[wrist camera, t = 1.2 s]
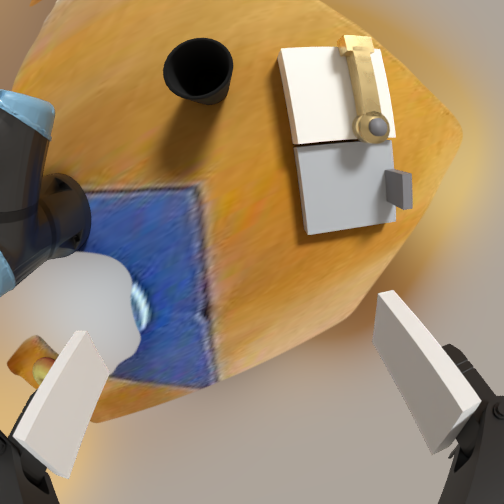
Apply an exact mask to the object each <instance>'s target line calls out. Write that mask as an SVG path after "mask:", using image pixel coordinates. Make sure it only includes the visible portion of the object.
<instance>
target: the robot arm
mask: <svg viewBox="0 0 504 504" xmlns="http://www.w3.org/2000/svg"><path fill="white" fill-rule="evenodd" d="M54 118H55V109H54V107H53V106H52V104H51V103H49V102H47V101H44V100H41V99H38V98H35V97H31V96H28V95H24V94H20V93H16V92H12V91H6V90H2V89H0V297H1V296H2V295H4V294H5V293H7V292H8V291H10V290H13V289H14V288H15V286H17V285H18V284H19V283H20V282H21V281H22V280H23V279H25V278H26V277H27V276H28V275H29V274H31V273H32V272H33V271H34V270H35V269H37V268H38V267H39V266H40V265H41V264H43V263H44V262H45V261H47V260H49V259H55V258H61V257H66V256H69V255H70V254H73V253H74V252H75V251H77V250H78V249H79V248H80V247H81V246H82V245H83V244H84V243H85V241H86V239H87V237H88V235H89V231H90V226H91V212H90V207H89V203H88V200H87V197H86V195H85V193H84V191H83V190H82V188H81V187H80V185H79V184H78V183H77V182H76V181H75V180H74V179H72V178H71V177H69V176H67V175H65V174H60V173H55V174H50V175H47V176H44V177H43V171H44V166H45V161H46V156H47V151H48V147H49V142H50V141H51V139H52V138H51V132H52V127H53V123H54ZM372 342H373V344H374V346H375V348H376V350H377V351H378V353H379V355H380V357H381V358H382V360H383V362H384V364H385V365H386V367H387V369H388V371H389V373H390V375H391V376H392V378H393V380H394V382H395V384H396V385H397V387H398V389H399V391H400V393H401V395H402V397H403V399H404V400H405V402H406V404H407V406H408V408H409V410H410V412H411V414H412V416H413V418H414V419H415V422H416V423H417V426H418V428H419V430H420V432H421V434H422V436H423V438H424V440H425V442H426V444H427V446H428V448H429V450H430V452H431V454H432V455H433V454H435V453H437V452H439V451H442V450H443V449H445V448H447V447H449V446H450V445H451V444H452V442H453V441H454V440H455V439H456V440H457V441H458V443H459V444H458V445H457V446H456V448H455V449H454V450H453V451H452V452H451V454H450V456H449V457H448V458H452V457H453V455H454V454H455V455H454V459H453V462H452V465H451V468H450V472H449V475H448V478H447V481H446V484H445V487H444V489H443V492H442V494H441V497H440V500H439V502H438V504H504V396H496V395H495V394H494V393H493V391H492V390H491V389H490V387H489V386H488V385H487V384H486V382H485V381H484V379H483V378H482V377H481V375H480V374H479V373H478V372H477V370H476V369H475V368H473V365H472V364H471V363H470V362H469V361H468V360H467V358H466V357H465V355H464V354H463V353H462V352H461V351H460V350H459V349H457V348H456V347H454V346H453V345H451V344H448V345H445V346H443V347H441V346H440V345H439V343H438V342H437V341H436V340H435V338H434V337H433V336H432V335H431V334H430V332H429V331H428V330H427V329H426V327H425V326H424V325H423V324H422V323H421V321H420V320H419V319H418V318H417V317H416V316H415V314H414V313H413V312H412V311H411V310H410V309H409V307H408V306H407V305H406V304H405V303H404V302H403V301H402V299H401V298H400V297H399V296H398V295H397V294H396V293H395V292H394V290H391V291H387V292H382V293H378V300H377V309H376V318H375V325H374V334H373V340H372ZM109 373H110V372H109V370H108V368H107V367H106V365H105V363H104V361H103V360H102V358H101V356H100V354H99V353H98V351H97V349H96V347H95V345H94V343H93V341H92V339H91V337H90V335H89V333H88V332H87V331H75V332H74V334H73V335H72V337H71V338H70V340H69V341H68V343H67V344H66V346H65V347H64V349H63V350H62V352H61V354H60V355H59V356H58V358H57V359H56V361H55V362H54V364H53V366H52V367H51V369H50V370H49V372H48V374H47V375H46V377H45V378H44V380H43V382H42V383H41V385H40V387H39V388H38V389H37V390H36V391H35V392H34V393H33V394H32V395H31V396H30V398H29V400H28V401H27V403H26V406H25V407H24V408H23V410H22V413H21V414H20V416H19V417H18V419H17V421H16V423H15V425H14V427H13V429H12V431H11V433H10V435H9V436H8V438H7V437H6V436H5V435H4V434H3V433H2V432H1V430H0V504H59V501H58V498H57V496H56V493H55V490H54V488H53V485H52V482H51V479H50V476H49V475H48V473H47V472H45V471H46V469H47V468H48V469H49V470H51V471H52V472H53V473H55V474H56V475H58V476H61V477H64V478H67V479H69V477H70V474H71V471H72V468H73V465H74V462H75V459H76V456H77V453H78V450H79V448H80V445H81V442H82V439H83V437H84V434H85V431H86V429H87V426H88V423H89V421H90V419H91V416H92V414H93V411H94V409H95V406H96V404H97V401H98V399H99V397H100V394H101V392H102V389H103V387H104V385H105V383H106V380H107V378H108V376H109Z"/></svg>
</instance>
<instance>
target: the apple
mask: <svg viewBox="0 0 504 504" xmlns="http://www.w3.org/2000/svg"><path fill="white" fill-rule="evenodd" d="M54 362H55V360H54V359H51V358H46V357H43V358H40V359H39V360H37V361H36V362H35V364H34V366H33V376H34V379H35V380H36V382H37V383H38V384H39V385H41V383H42V382H43V380H44V378H45V377H46V375H47V374H48V372H49V370H50V369H51V367H52V366H53V364H54Z"/></svg>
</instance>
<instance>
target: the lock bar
mask: <svg viewBox="0 0 504 504" xmlns="http://www.w3.org/2000/svg"><path fill="white" fill-rule="evenodd" d="M337 44H338V48H339V53H340V56H346V60H347V65H348V69H349V74H350V79H351V84H352V89H353V95H354V100H355V106H356V112H357V116H356V117H355V118H354V120H353V123H352V129H353V133H354V135H355V136H356V138H357V139H358V140H360V141H361V142H363V143H372V144H380V143H382V142H384V141H385V140H386V139H387V138H388V136H389V133H390V126H389V122H388V120H387V119H386V117H385V116H384V115H383V114H382V113H381V107H380V101H379V95H378V89H377V84H376V79H375V74H374V69H373V65H372V60H371V56H370V54H372V53H374V48H373V44H372V40H371V37H367V36H353V35H343V36H342V37H341V38H340V39H339V40H338V41H337ZM374 118H381V119H383V120H384V121H385V122H386V124H387V132H386V134H385V135H383V136H374V135H373V134H371V132H370V131H369V127H368V125H369V122H370V121H371V120H372V119H374Z"/></svg>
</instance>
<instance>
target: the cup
mask: <svg viewBox="0 0 504 504" xmlns="http://www.w3.org/2000/svg"><path fill="white" fill-rule="evenodd" d="M232 71H233V59H232V57H231V54H230V52H229V51H228V49H227V48H226V47H225V46H224V45H222V44H221V43H220V42H218V41H215V40H213V39H208V38H195V39H191V40H187V41H185V42H183V43H181V44H180V45H178V46H177V47H176V48H174V49H173V50H172V52H171V53H170V54H169V55H168V57H167V59H166V61H165V64H164V68H163V76H164V80H165V83H166V85H167V86H168V88H169V89H170V90H171V91H172V92H173V93H174V94H176V95H177V96H180V97H182V98H184V99H188V100H191V101H195V102H198V103H201V104H206V105H212V104H216V103H218V102H220V101H222V100H223V99H224V98H225V97H226V95H227V93H228V90H229V85H230V81H231V76H232Z"/></svg>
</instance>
